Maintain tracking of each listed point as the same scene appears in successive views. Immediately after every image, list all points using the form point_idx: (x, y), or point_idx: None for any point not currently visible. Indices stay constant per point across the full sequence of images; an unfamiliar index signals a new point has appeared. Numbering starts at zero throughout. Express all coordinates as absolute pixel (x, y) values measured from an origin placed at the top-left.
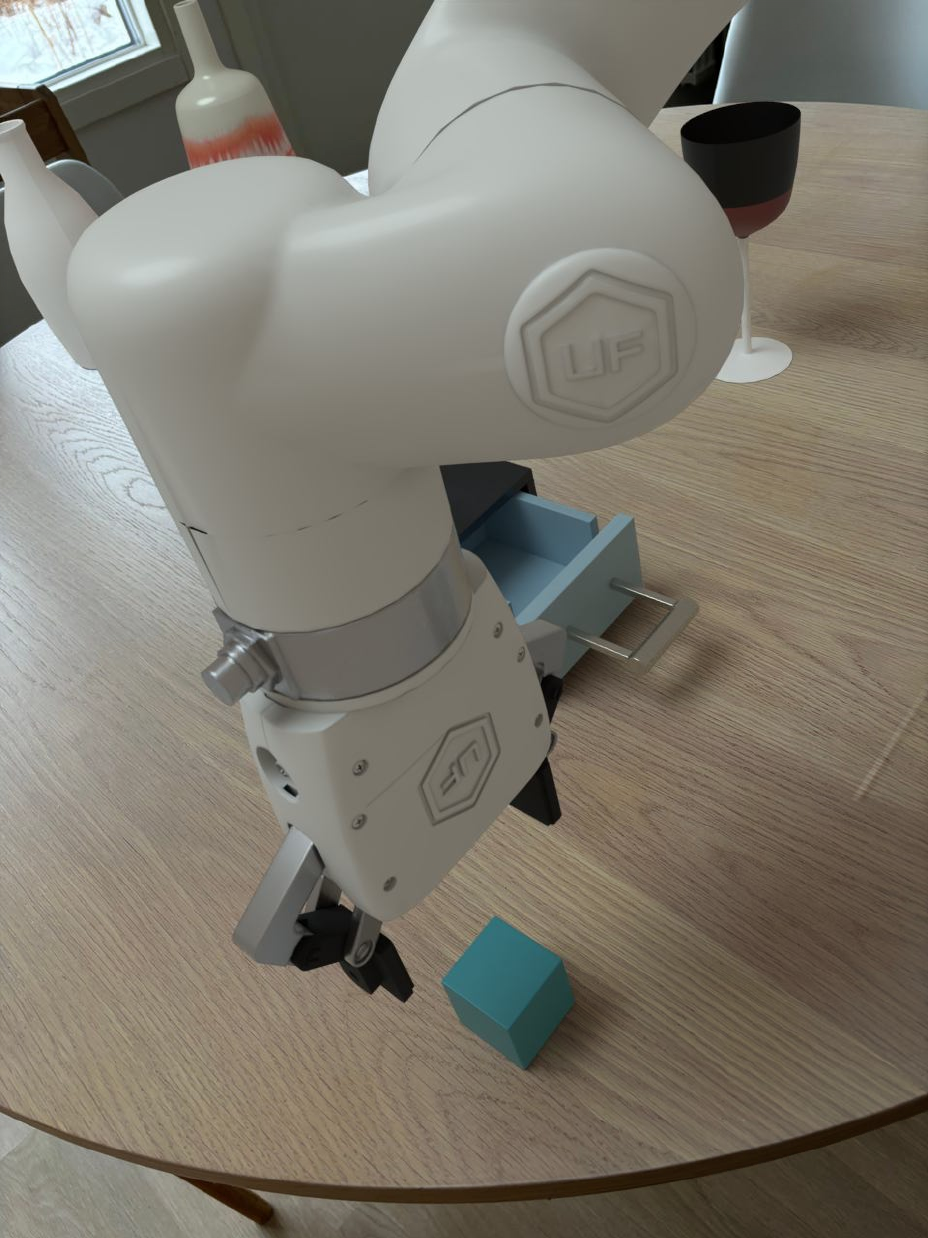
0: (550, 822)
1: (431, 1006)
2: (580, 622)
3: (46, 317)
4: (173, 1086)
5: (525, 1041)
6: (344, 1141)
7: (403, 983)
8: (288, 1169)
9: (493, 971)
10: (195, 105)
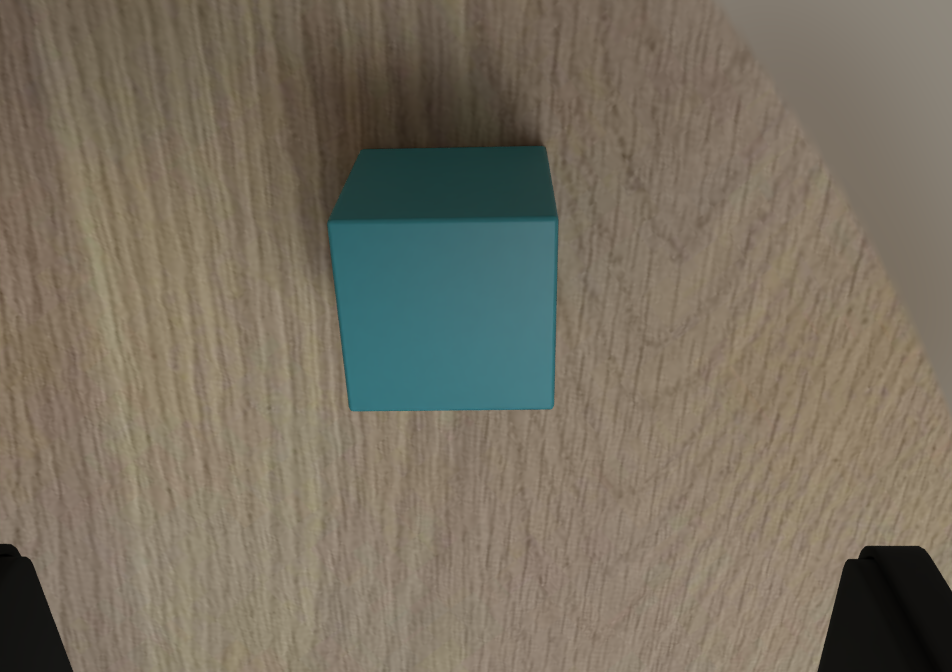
0: (4, 566)
1: None
2: None
3: None
4: None
5: (518, 176)
6: (844, 337)
7: (946, 634)
8: (933, 381)
9: (459, 333)
10: None
